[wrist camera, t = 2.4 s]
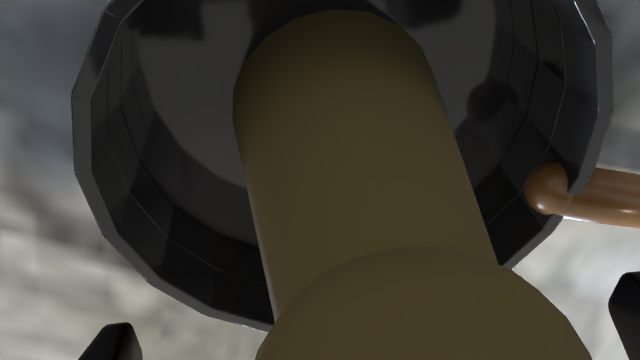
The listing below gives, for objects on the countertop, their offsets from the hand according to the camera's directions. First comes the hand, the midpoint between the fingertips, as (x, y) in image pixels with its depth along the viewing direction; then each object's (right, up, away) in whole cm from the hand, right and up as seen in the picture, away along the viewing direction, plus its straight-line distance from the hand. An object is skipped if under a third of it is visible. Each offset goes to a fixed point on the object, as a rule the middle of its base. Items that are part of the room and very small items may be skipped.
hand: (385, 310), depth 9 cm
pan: (-1, +5, +6) cm, 8 cm away
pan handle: (+9, +2, +7) cm, 11 cm away
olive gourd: (-1, +5, +6) cm, 8 cm away
